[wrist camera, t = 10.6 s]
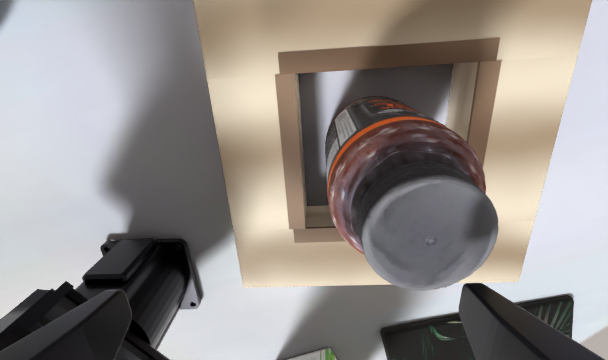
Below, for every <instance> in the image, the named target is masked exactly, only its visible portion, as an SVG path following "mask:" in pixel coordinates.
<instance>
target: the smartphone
mask: <svg viewBox="0 0 608 360" xmlns="http://www.w3.org/2000/svg"><path fill="white" fill-rule="evenodd" d="M516 305H518V306H519V307H521V308H523V309H524V310H526V311H527V312H529V313H531V314H532V315H534V316H536V317H537V318H539V319H540V320H542V321H544V322H545V323H547V324H548V325H550V326H552V327H553V328H555V329H556V330H558V331H560V332H561V333H563V334H565V335H566V336H568V337H569V338H571V339H572V323H573V306H574V301H573V299H572V298H571V297H570V296H568V295H565V296H559V297H554V298H548V299H542V300H536V301H531V302H525V303H520V304H516ZM381 337H382V341H383V345H384V348H385V352H386V356H387V360H476V358H475V355H474V353H473V350H472V347H471V345H470V342H469V339H468V337H467V334H466V332H465V329H464V326H463V324H462V321H461V318H460V315H459V314H458V315H453V316H447V317H441V318H436V319H430V320H425V321H419V322H414V323H408V324H403V325H398V326H392V327H387V328H383V329H382V330H381Z"/></svg>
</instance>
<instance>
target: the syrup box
mask: <svg viewBox="0 0 608 360" xmlns="http://www.w3.org/2000/svg"><path fill="white" fill-rule="evenodd" d="M287 360H337V359H336V357H335V355H334V354H333V352H332V350H331V349H330V348H326V349H322V350H318V351H315V352H311V353H307V354H304V355H300V356H297V357H293V358H290V359H287Z"/></svg>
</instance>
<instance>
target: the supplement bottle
mask: <svg viewBox="0 0 608 360" xmlns="http://www.w3.org/2000/svg"><path fill="white" fill-rule="evenodd" d="M325 154H326V175H327V194H328V204H329V209H330V213H331V217H332V220H333V223H334V224H335V226H336V228H337V230H338V232H339V234H340V235H341V236H342V238H343V239H344V240H345V241H346V242H347V243H348V244H349V245H350V246H352V247H353V248H354V249H356V250H357V251H358V252H360V253H362V254H363V255H365V257H366V259H367V262H368V263H369V264H370V266H371V267H372V269H373V270H374V271H375V272H376V273H377V274H378V275H379V276H380V277H381V278H383V279H384V280H386V281H388V282H389V283H391V284H394V285H396V286H398V287H401V288H407V289H412V290H431V289H439V288H443V287H447V286H450V285H452V284H454V283H457V282H459V281H461V280H463V279H465V278H466V277H468V276H470V275H471V274H472V273H473V272H475V271H476V270H477V269H478V268H480V267H481V266H482V265H483V264H484V262H485V260H486V259H487V258H488V256H489V255H490V253H491V251H492V250H493V248H494V245H495V243H496V240H497V235H498V229H499V228H498V216H497V213H496V209H495V207H494V205H493V203H492V202H491V200H490V199H489V198H488V196H487V195H486V181H485V174H484V171H483V167H482V164H481V162H480V160H479V158H478V156H477V155H476V152H475V151H474V150H473V148H471V146H470V145H469V144H468V143H467V142H466V141H465V140H464V139H463V138H462V137H460V136H459V135H458V134H457V133H455V132H454V131H452V130H451V129H449V128H447V127H446V126H445V125H443V124H441V123H439V122H437V121H435V120H433V119H431V118H429V117H428V116H426V115H423V114H421V113H419V112H417V111H416V110H414V109H412V108H410V107H408V106H406V105H405V104H403V103H401V102H399V101H397V100H394V99H390V98H386V97H367V98H363V99H359V100H356V101H354V102H352V103H351V104H349V105H347V106H346V107H345V108H343V109H342V110H341V111H340V112H339V113H338V114H337V115H336V117H335V118H334V119H333V121H332V123H331V124H330V126H329V129H328V132H327V136H326V142H325Z"/></svg>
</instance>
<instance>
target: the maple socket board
mask: <svg viewBox="0 0 608 360" xmlns="http://www.w3.org/2000/svg"><path fill="white" fill-rule="evenodd" d="M193 2H194V8H195V14H196V19H197V25H198V31H199V37H200V42H201V48H202V54H203V59H204V65H205V71H206V77H207V82H208V88H209V94H210V99H211V105H212V111H213V117H214V122H215V128H216V134H217V139H218V145H219V151H220V157H221V162H222V168H223V174H224V179H225V185H226V191H227V196H228V202H229V208H230V214H231V219H232V225H233V231H234V236H235V242H236V248H237V254H238V259H239V265H240V271H241V276H242V282H243V288H250V287H297V286H344V285H392V284H391V283H389V282H388V281H386V280H384V279H383V278H381V277H380V276H379V275H378V274H377V273H376V272H375V271H374V270H373V269H372V267H371V266H370V264H369V263H368V262H367V259H366V257H365V255H363V254H362V253H360V252H358V251H357V250H356V249H354V248H353V247H352V246H350V245H349V244H348V243H347V242H346V241H345V240H344V239H343V238H342V236H341V235H340V234H339V232H338V230H337V228H336V226H335V224H334V223H333V220H332V217H331V213H330V209H329V205H321V206H307V200H306V185H305V169H304V154H303V139H302V123H301V108H300V93H299V78H298V73H312V72H328V71H343V70H359V69H374V68H390V67H406V66H421V65H437V64H452V63H453V70H452V78H451V87H450V95H449V104H448V112H447V121H446V127H447V128H449V129H451V130H452V131H454V132H455V133H457V134H458V135H459V136H460V137H462V138H463V139H464V140H465V141H466V142H467V143H468V144H469V145H470V146H471V148H473V150H474V151H475V152H476V155H477V156H478V158H479V160H480V162H481V164H482V167H483V171H484V174H485V181H486V195H487V196H488V198H489V199H490V200H491V202H492V203H493V205H494V207H495V209H496V213H497V216H498V228H499V229H498V235H497V240H496V243H495V245H494V248H493V250H492V251H491V253H490V255H489V256H488V258H487V259H486V260H485V262H484V264H483V265H482V266H481V267H480V268H478V269H477V270H476V271H475V272H473V273H472V274H471V275H470V276H468V277H466V278H465V279H463V280H461V281H459V282H457V283H486V282H519V278H520V274H521V270H522V266H523V262H524V259H525V255H526V251H527V247H528V243H529V239H530V236H531V232H532V228H533V224H534V220H535V217H536V213H537V209H538V205H539V201H540V197H541V194H542V190H543V186H544V182H545V178H546V174H547V171H548V167H549V163H550V159H551V155H552V151H553V148H554V144H555V140H556V136H557V132H558V129H559V125H560V121H561V117H562V113H563V109H564V106H565V102H566V98H567V94H568V90H569V86H570V83H571V79H572V75H573V71H574V67H575V64H576V60H577V56H578V52H579V48H580V44H581V41H582V37H583V33H584V29H585V25H586V21H587V18H588V14H589V10H590V6H591V2H592V0H193Z"/></svg>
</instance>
